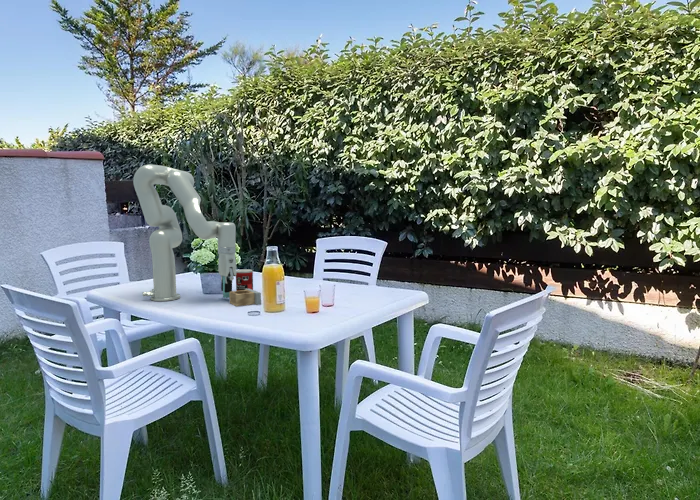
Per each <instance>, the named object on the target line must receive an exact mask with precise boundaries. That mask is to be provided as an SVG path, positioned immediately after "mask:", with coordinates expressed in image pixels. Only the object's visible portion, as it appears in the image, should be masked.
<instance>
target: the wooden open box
mask: <svg viewBox="0 0 700 500" xmlns="http://www.w3.org/2000/svg"><path fill="white" fill-rule="evenodd" d="M229 294H230V298H229V304H230V305H233V306H235V307H243V306H250V305H256V304H255V296H254V292H251V291H249V290H240V291H236V290H232V292H229Z"/></svg>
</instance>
